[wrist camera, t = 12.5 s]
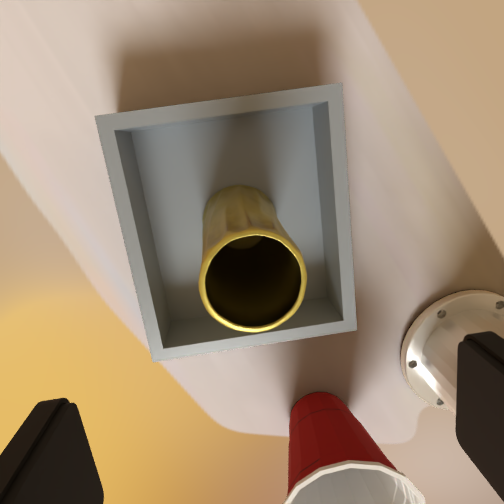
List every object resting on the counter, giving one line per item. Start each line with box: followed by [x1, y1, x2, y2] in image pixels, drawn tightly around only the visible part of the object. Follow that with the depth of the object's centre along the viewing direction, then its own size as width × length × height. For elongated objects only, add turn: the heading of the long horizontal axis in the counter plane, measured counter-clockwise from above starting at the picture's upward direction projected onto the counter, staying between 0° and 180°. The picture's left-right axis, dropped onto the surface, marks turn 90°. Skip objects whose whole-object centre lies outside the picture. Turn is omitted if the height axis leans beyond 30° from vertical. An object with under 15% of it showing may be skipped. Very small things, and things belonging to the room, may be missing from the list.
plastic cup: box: [282, 392, 426, 504], centre depth 33 cm, size 11×11×12 cm
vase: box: [198, 185, 307, 333], centre depth 25 cm, size 6×6×14 cm
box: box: [95, 83, 357, 362], centre depth 30 cm, size 16×18×6 cm
